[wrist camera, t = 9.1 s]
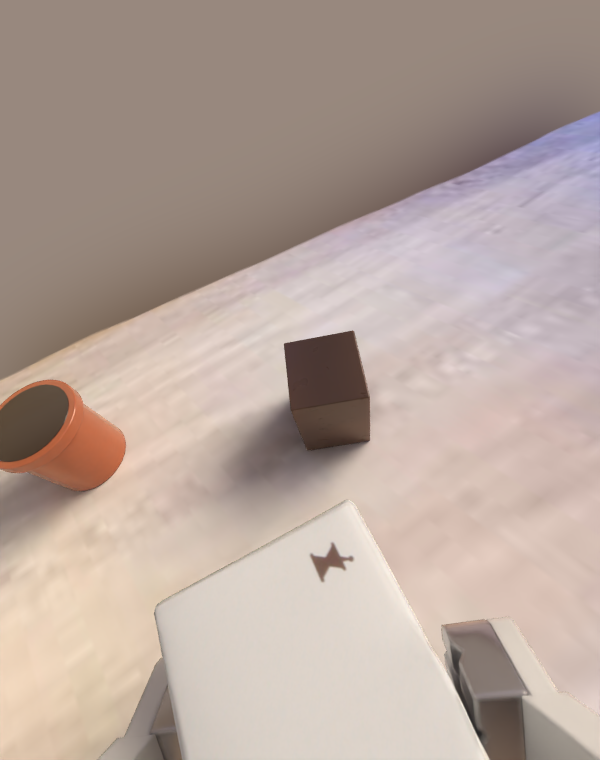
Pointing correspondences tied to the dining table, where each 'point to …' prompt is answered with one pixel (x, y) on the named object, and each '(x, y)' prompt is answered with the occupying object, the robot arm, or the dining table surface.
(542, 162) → the dining table surface
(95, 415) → the flower pot
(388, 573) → the cosmetic box
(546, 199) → the dining table surface
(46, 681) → the dining table surface
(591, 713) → the robot arm
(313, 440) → the walnut block
